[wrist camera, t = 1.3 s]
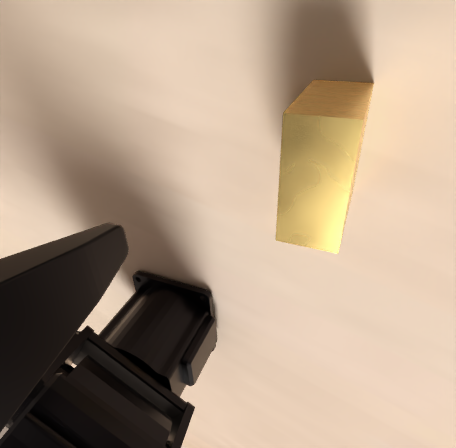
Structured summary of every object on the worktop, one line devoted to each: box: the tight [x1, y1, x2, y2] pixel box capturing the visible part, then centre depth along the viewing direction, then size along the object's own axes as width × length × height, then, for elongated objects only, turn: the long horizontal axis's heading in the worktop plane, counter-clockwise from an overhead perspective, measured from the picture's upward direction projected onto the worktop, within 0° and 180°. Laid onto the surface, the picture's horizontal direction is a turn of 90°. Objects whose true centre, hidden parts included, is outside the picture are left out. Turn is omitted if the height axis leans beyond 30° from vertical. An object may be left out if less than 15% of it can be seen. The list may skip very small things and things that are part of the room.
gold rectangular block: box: [276, 80, 374, 254], centre depth 14 cm, size 2×5×5 cm, turn 2°
